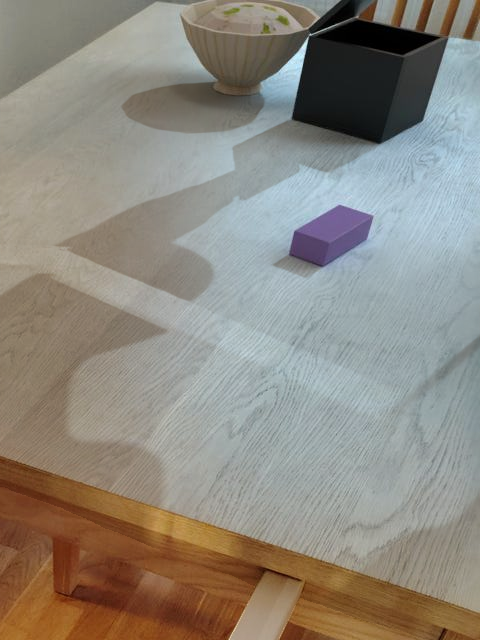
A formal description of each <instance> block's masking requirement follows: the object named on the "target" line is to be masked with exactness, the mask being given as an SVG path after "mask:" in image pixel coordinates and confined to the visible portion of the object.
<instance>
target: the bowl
mask: <svg viewBox="0 0 480 640" xmlns="http://www.w3.org/2000/svg"><path fill="white" fill-rule="evenodd" d="M179 16H180V20H181V24H182V27H183V31H184V34H185V38H186V40H187V42H188V43H189V45H190V47H191V48H192V51H193V52H194V54H195V55H196V57H197V60H199V62H200V64H201V65H202V66H203V68H204V69H205V70H206V71H207V72H208V73H209V74H210V75H212V77H214V78H215V79H216V80H217V81H216V82H215V83H214V85H213V86H212V87H213V89H214V90H215V91H217V92H219V93H221V94H225V95H229V96H230V95H231V96H237V97H238V96H252V95H255V94H258V93H260V92H261V91H262V90H263V86H262V84H261V83H262V82H264V81H266V80H268V79H269V78H270V77H272V76H275V74H277V73H279V72H280V71H281V70H282V69H283V68H284V67H285V66H286V65H287V64H288V63H289V62H290V60H292V59H293V57H295V55H297V54H298V53H299V51H300V50H301V49H302V47H303V46H304V44H305V43H306V41H308V37H309V36H310V35H311V33H310V31H309V28H310V27H311V26H312V25H313V24H314V23H315V22H316V21H318V20H319V19H320V18H321V17H322V16H320V15H318V14H317V13H316V12H315V11H313V10H312V9H311V8H309V7H307V6H303V5H299V4H297V3H293V2H289V1H285V0H203V1H198V2H194V3H190V4H188V5H186V7H185V8H184V9H182V10H181V11H180V12H179Z"/></svg>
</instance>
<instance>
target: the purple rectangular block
mask: <svg viewBox="0 0 480 640" xmlns="http://www.w3.org/2000/svg"><path fill="white" fill-rule="evenodd" d="M373 220H374V215H373V214H370V213H367V212H364V211H360V210H357V209H355V208H351V207H349V206H345V205H342V204H338V205H337V206H335V207H333V208H331V209H329V210H328V211H326V212H325V213H322V214H321V215H319V216H317V217H315V218H314V219H312V220H310V221H308V222H307V223H305V224H304V225H302V226H300V227H298V228H297V229H295V230H293V234H292V239H291V244H290V248H289V251H288V254H289V255H291V256H294V257H297V258H299V259H302V260H305V261H308V262H310V263H313V264H316V265H318V266H322V267H325V266H326V265H328V264H329V263H331V262H332V261H334V260H335V259H337V258H338V257H340V256H342V255H343V254H345V253H347V252H348V251H350V250H351V249H353V248H355V247H356V246H358V245H359V244H361V243H362V242H364V241H366V240H367V239H368V237H369V234H370V231H371V227H372V225H373Z"/></svg>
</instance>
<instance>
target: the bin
mask: <svg viewBox="0 0 480 640" xmlns="http://www.w3.org/2000/svg"><path fill="white" fill-rule="evenodd" d="M448 41H449V36H445V35H440V34H435V33H432V32H427V31H422V30H417V29H411V28H407V27H402V26H397V25H392V24H389V23H384V22H378V21H374V20H369V19H364V18H361V17H360V18H359V17H354V18H351V19H349V20H346V21H344V22H341V23H339V24H336V25H334V26H331V27H329V28H326V29H324V30H321V31H319V32H316V33H314V34H310V35H309V37H308V38H307V44H306V48H305V52H304V57H303V63H302V65H301V66H302V67H301V72H300V76H299V81H298V86H297V91H296V95H295V100H294V105H293V109H292V114H291V119H292V120H295V121H298V122H302V123H305V124H308V125H309V124H310V125H313V126H316V127H319V128H323V129H327V130H331V131H334V132H337V133H342V134H344V135H348V136H351V137H356V138H358V139H359V138H360V139H363V140H366V141H370V142H373V143H377V144H382V143H384V142H386V141H388V140H390V139H392V138H393V137H396V136H397V135H399V134H401V133H403V132H405V131H407V130H408V129H410V128H412V127H414V126H416V125H418V124H420V123H421V122H423V121H424V119H425V115H426V113H427V109H428V106H429V102H430V99H431V96H432V94H433V90H434V87H435V84H436V81H437V77H438V74H439V71H440V68H441V64H442V61H443V57H444V55H445V51H446V48H447V46H448Z"/></svg>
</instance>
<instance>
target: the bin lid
mask: <svg viewBox="0 0 480 640" xmlns="http://www.w3.org/2000/svg"><path fill="white" fill-rule="evenodd" d="M376 1H377V0H339V1H338V2H337V3H336V4H334V5H333V6H332V7H331V8H330V9H329V10H327V12H325V14H323V15H322V16H320V17H321V18H320V19H319V20H318V21H316V22H315V23H314V24H313V25H312V26H311V27H310V28H309V31H310V35H313V34H315V33H318V32H320V31H323V30H325V29H328V28H330V27H333V26H335V25H338V24H340V23H343V22H345V21H348V20H350V19H352V18H357V17H358V16H359V15H361V14H362V13H363V12H364V11H365V10H366V9H368V8H369V7H370V6H372V4H374V3H375V2H376Z"/></svg>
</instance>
